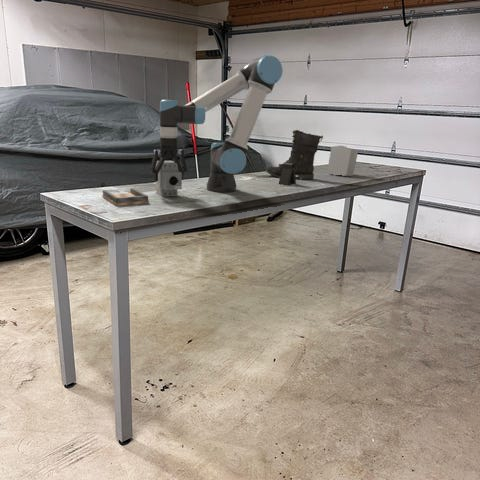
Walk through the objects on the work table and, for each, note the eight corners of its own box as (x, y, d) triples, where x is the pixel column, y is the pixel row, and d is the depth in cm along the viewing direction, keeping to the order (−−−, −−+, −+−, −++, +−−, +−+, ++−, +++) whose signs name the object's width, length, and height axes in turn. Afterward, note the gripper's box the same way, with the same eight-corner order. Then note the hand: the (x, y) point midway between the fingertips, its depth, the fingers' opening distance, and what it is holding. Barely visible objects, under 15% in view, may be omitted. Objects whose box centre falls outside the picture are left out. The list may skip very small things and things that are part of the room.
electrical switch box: (356, 179, 281) (362, 149, 277) (345, 177, 270) (351, 146, 266) (337, 176, 290) (342, 147, 286) (326, 174, 279) (332, 144, 275)
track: (133, 194, 185) (133, 188, 184) (148, 203, 171) (148, 196, 170) (102, 197, 178) (102, 190, 177) (115, 205, 164) (115, 198, 163)
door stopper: (287, 185, 229) (288, 163, 225) (278, 184, 232) (280, 162, 229) (296, 184, 235) (297, 162, 232) (287, 182, 239) (289, 161, 235)
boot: (266, 174, 267) (269, 128, 258) (318, 178, 261) (323, 131, 252) (264, 176, 256) (267, 128, 247) (318, 181, 250) (323, 131, 242)
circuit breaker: (167, 199, 180) (167, 164, 175) (155, 193, 191) (155, 160, 187) (183, 198, 184) (183, 164, 179) (170, 192, 195) (170, 160, 190)
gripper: (187, 136, 189) (187, 184, 195) (141, 136, 176) (142, 187, 183) (195, 137, 183) (194, 187, 189) (147, 137, 171) (148, 190, 177)
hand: (168, 187), depth 186 cm, fingers open, 10 cm apart
